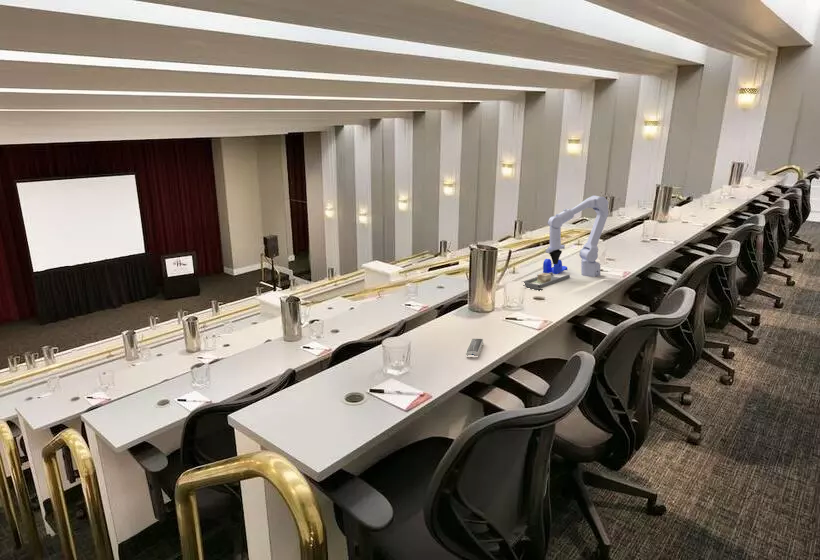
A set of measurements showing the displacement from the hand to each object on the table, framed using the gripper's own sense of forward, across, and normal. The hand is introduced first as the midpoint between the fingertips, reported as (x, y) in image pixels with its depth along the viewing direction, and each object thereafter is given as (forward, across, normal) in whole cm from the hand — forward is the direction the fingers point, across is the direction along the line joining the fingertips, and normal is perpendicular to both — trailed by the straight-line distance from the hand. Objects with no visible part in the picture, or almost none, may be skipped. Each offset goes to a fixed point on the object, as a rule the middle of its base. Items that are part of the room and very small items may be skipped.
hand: (555, 263), depth 283 cm
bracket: (+10, -16, -10) cm, 21 cm away
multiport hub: (+10, +101, +36) cm, 108 cm away
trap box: (+9, +8, 0) cm, 13 cm away
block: (+8, +10, 0) cm, 13 cm away
